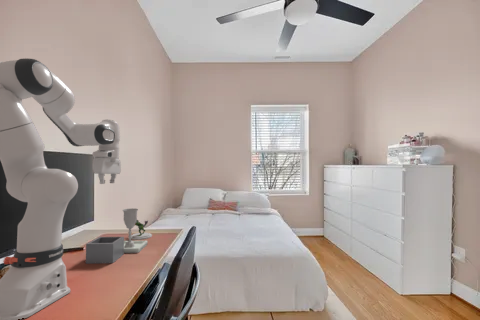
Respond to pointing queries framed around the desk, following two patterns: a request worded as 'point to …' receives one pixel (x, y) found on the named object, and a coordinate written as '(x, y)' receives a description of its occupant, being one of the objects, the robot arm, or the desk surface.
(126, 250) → the tray
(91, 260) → the box
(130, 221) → the chalice
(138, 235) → the monster figurine
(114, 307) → the desk surface
